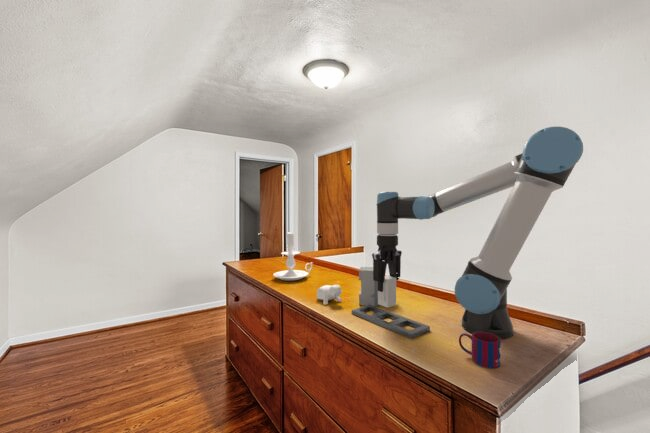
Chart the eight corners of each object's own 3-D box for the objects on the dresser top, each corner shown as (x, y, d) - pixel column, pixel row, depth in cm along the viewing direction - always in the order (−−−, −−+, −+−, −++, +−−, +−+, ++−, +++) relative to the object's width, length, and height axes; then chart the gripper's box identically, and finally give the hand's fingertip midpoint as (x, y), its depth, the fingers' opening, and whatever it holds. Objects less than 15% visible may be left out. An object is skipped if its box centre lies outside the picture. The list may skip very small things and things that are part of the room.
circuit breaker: (393, 306, 122) (393, 271, 122) (359, 305, 125) (358, 270, 124) (392, 301, 129) (392, 267, 129) (360, 299, 132) (360, 266, 132)
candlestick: (320, 279, 170) (320, 231, 169) (280, 285, 158) (279, 233, 157) (305, 272, 188) (305, 229, 187) (268, 277, 176) (267, 231, 175)
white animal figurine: (316, 307, 132) (331, 303, 120) (312, 288, 134) (327, 282, 122) (332, 303, 136) (349, 300, 124) (328, 285, 139) (344, 280, 126)
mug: (496, 371, 73) (496, 345, 73) (455, 357, 80) (455, 333, 80) (503, 361, 78) (503, 336, 78) (464, 349, 85) (464, 326, 85)
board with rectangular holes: (430, 330, 98) (429, 326, 98) (411, 338, 92) (411, 334, 92) (369, 308, 120) (369, 304, 120) (351, 313, 114) (351, 310, 114)
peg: (396, 304, 106) (396, 277, 105) (387, 307, 103) (387, 279, 103) (386, 301, 110) (386, 275, 109) (377, 304, 107) (377, 277, 106)
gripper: (395, 232, 114) (394, 291, 114) (362, 235, 103) (362, 300, 104) (411, 234, 108) (410, 296, 108) (378, 237, 97) (377, 306, 98)
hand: (387, 298), depth 106 cm, fingers closed on peg, 5 cm apart
